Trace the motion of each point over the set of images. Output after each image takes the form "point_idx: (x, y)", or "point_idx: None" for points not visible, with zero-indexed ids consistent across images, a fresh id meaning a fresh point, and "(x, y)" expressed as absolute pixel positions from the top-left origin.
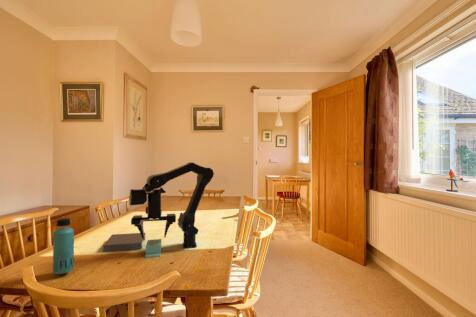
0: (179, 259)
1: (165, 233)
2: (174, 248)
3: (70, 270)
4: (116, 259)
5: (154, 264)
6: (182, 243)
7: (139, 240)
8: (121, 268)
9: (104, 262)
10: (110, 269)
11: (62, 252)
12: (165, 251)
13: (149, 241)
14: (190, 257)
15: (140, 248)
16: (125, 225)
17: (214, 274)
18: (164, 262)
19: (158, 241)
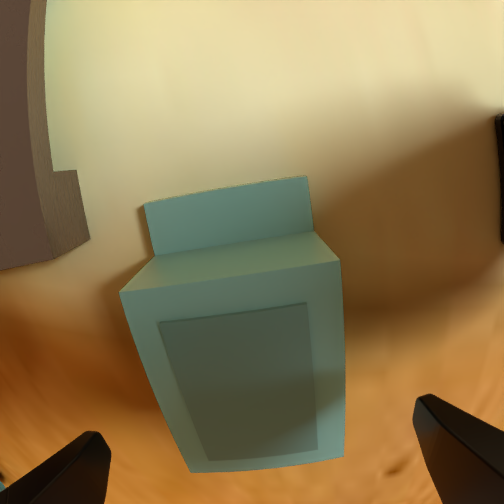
0: None
1: (446, 481)
2: (441, 237)
3: (4, 488)
4: (41, 412)
5: (302, 491)
6: (497, 126)
7: (10, 171)
8: (142, 501)
9: (18, 428)
10: None
11: None
12: (364, 316)
13: (171, 362)
14: (497, 399)
15: (80, 241)
16: None
17: None
18: (357, 472)
19: (312, 386)
